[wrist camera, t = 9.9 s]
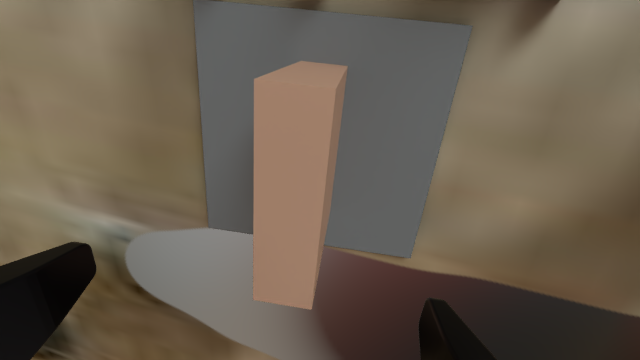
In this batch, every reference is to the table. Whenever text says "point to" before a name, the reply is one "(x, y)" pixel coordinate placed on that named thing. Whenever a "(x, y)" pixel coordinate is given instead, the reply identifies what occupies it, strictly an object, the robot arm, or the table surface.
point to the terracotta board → (294, 177)
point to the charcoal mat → (357, 115)
